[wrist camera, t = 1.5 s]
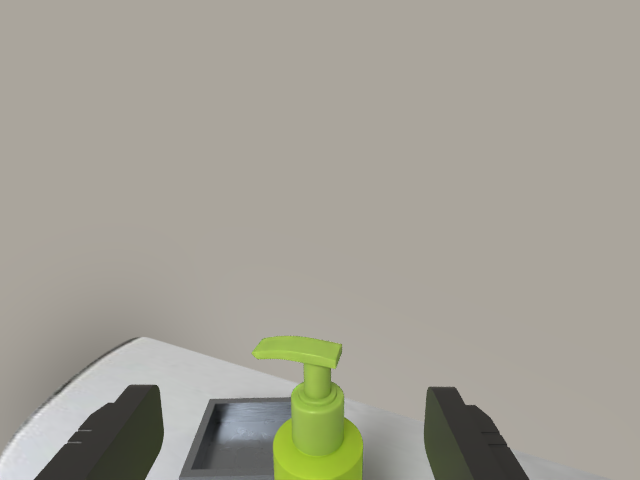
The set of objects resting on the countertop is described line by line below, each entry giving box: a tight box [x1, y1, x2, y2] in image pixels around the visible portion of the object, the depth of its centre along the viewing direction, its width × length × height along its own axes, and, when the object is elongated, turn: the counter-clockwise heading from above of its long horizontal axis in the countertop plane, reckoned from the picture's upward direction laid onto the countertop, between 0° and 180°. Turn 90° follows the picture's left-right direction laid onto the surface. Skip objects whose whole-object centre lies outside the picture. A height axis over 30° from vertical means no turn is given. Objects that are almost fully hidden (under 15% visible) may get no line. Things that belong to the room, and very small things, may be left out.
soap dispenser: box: [252, 336, 363, 480], centre depth 26 cm, size 6×7×20 cm
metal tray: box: [179, 397, 291, 480], centre depth 40 cm, size 12×11×3 cm
